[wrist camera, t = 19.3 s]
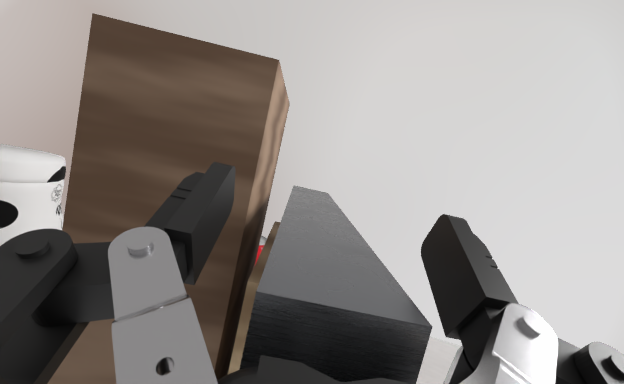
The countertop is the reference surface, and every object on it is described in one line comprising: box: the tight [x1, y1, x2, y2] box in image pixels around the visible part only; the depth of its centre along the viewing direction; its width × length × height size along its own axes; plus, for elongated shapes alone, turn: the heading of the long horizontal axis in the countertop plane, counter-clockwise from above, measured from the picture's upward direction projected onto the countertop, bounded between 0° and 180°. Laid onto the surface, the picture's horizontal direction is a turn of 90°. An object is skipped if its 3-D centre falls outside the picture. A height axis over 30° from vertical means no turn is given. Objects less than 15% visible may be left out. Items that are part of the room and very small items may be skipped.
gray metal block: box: [239, 186, 432, 384], centre depth 19 cm, size 26×4×4 cm, turn 2°
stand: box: [47, 14, 289, 384], centre depth 23 cm, size 15×17×32 cm
